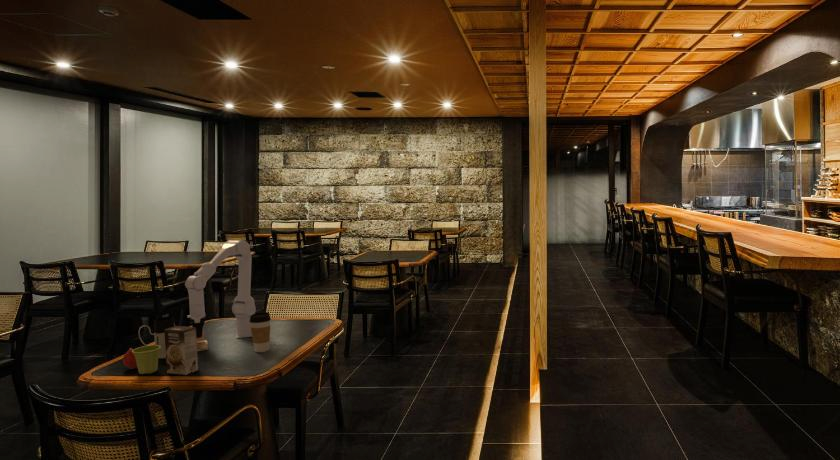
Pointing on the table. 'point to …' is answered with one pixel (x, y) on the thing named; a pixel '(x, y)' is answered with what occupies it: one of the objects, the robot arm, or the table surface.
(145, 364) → the plant pot
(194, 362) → the coffee box
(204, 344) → the birch base
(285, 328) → the table surface
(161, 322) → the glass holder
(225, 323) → the table surface
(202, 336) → the painted block
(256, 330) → the coffee cup
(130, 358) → the onion
